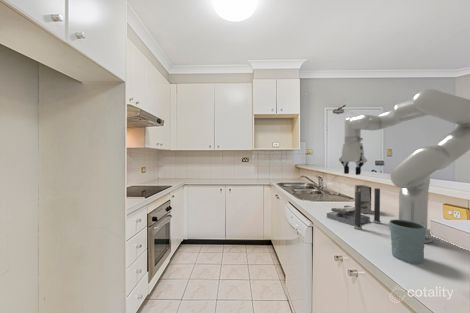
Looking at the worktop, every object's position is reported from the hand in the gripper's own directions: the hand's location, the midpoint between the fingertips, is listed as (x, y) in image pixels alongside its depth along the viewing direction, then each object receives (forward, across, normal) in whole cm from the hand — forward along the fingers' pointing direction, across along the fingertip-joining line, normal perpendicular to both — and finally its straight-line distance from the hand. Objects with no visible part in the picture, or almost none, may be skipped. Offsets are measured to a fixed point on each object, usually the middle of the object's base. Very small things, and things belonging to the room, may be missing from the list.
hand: (352, 173), depth 114 cm
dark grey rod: (+26, -9, +9) cm, 28 cm away
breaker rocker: (+20, +3, 0) cm, 20 cm away
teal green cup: (+26, -34, +22) cm, 48 cm away
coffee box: (+26, +7, -23) cm, 35 cm away
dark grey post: (+26, -9, -8) cm, 28 cm away
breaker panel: (+26, +2, 0) cm, 26 cm away
